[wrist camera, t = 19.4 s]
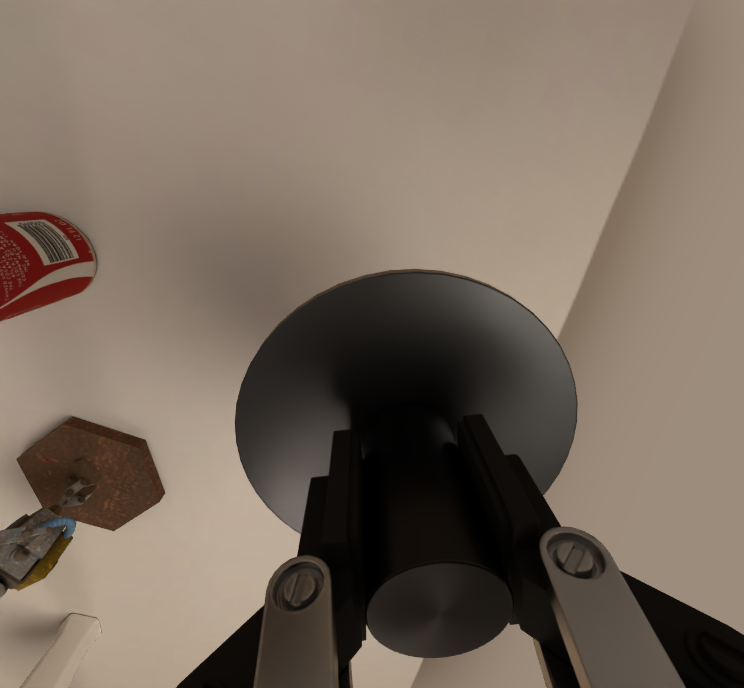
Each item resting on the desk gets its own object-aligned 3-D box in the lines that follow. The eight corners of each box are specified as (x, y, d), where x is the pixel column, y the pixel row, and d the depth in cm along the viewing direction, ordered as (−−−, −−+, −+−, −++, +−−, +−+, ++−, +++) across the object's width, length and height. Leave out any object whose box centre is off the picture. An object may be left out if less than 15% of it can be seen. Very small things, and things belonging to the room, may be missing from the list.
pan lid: (575, 242, 11) (832, 306, 5) (550, 520, 16) (672, 732, 10) (203, 289, 11) (23, 403, 5) (281, 550, 16) (232, 777, 10)
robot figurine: (100, 396, 28) (-71, 533, 17) (191, 476, 31) (98, 636, 20) (4, 467, 30) (-205, 631, 19) (99, 535, 33) (-32, 711, 22)
